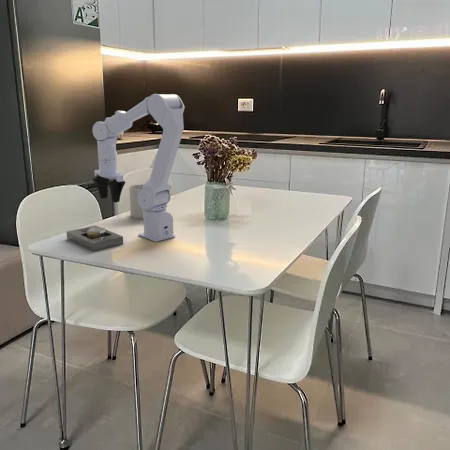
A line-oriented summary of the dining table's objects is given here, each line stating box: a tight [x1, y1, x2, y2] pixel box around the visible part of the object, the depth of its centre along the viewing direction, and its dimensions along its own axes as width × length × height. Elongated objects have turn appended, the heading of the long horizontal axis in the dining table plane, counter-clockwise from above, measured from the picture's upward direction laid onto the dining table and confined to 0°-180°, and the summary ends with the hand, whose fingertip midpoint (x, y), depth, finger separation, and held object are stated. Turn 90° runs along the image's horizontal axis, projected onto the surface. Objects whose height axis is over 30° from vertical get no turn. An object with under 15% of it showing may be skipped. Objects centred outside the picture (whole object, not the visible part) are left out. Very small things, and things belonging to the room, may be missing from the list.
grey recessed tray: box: [66, 225, 124, 252], centre depth 139 cm, size 16×10×2 cm, turn 45°
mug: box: [129, 184, 144, 219], centre depth 167 cm, size 12×8×11 cm
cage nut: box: [87, 227, 106, 240], centre depth 139 cm, size 4×5×4 cm
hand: (109, 200), depth 152 cm, fingers open, 7 cm apart
